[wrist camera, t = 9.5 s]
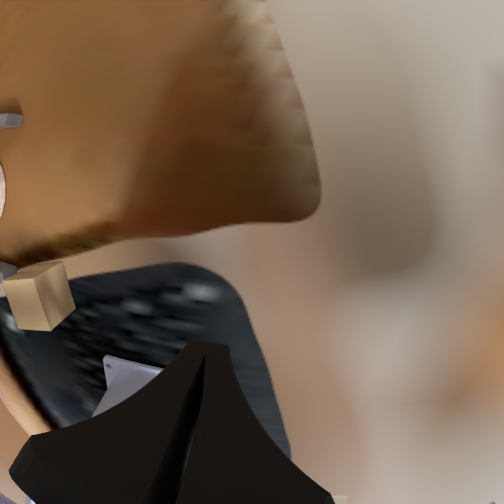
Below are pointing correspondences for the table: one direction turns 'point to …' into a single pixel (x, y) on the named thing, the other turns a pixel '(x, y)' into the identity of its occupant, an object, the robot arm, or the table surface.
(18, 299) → the oak cube
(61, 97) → the table surface
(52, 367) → the table surface
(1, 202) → the white cup
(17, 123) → the grey u-shaped bracket
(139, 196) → the table surface
